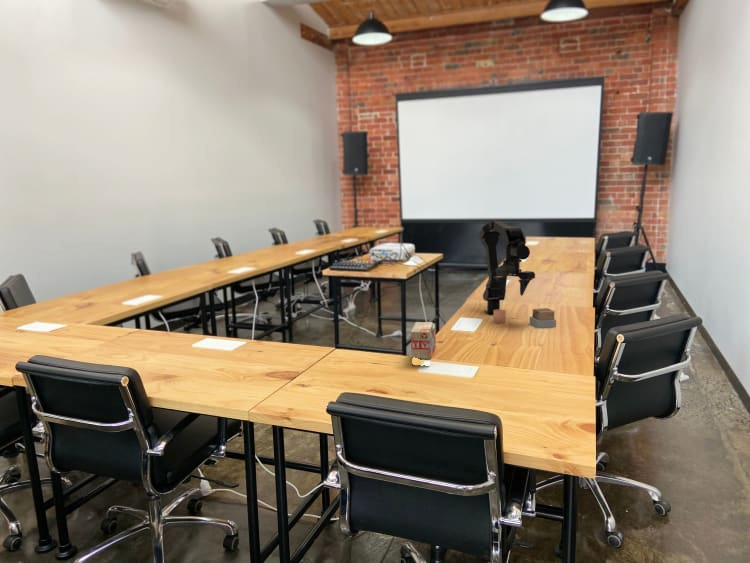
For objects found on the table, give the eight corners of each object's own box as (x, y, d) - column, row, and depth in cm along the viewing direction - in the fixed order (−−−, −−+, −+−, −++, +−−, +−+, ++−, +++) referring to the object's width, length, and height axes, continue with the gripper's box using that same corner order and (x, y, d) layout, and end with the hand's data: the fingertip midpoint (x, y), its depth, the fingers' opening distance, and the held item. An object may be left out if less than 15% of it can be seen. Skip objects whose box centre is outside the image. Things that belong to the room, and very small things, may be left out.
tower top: (532, 317, 229) (532, 308, 228) (546, 316, 230) (547, 307, 229) (539, 320, 223) (539, 312, 222) (554, 319, 224) (554, 311, 223)
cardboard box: (419, 347, 203) (418, 315, 200) (435, 347, 201) (435, 315, 199) (411, 366, 182) (410, 331, 180) (429, 367, 181) (429, 331, 179)
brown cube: (491, 320, 237) (491, 309, 236) (503, 320, 238) (503, 309, 237) (495, 323, 232) (495, 312, 231) (507, 323, 233) (507, 311, 232)
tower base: (529, 324, 230) (529, 316, 230) (547, 323, 231) (547, 315, 231) (537, 329, 223) (537, 321, 222) (555, 328, 224) (556, 320, 223)
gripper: (482, 258, 229) (482, 294, 231) (519, 260, 214) (519, 299, 217) (499, 255, 236) (499, 291, 238) (536, 258, 221) (535, 295, 223)
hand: (512, 294), depth 229 cm, fingers open, 9 cm apart
